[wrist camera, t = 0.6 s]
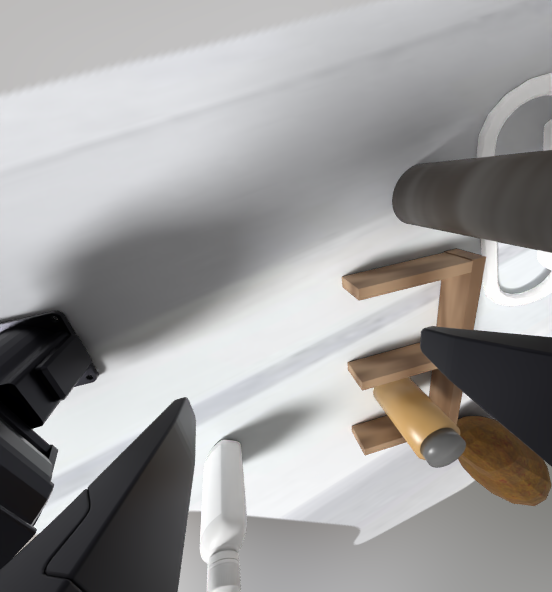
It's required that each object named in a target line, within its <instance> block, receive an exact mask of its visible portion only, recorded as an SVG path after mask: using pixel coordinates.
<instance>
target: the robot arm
mask: <svg viewBox="0 0 552 592" xmlns="http://www.w3.org/2000/svg"><path fill="white" fill-rule="evenodd" d="M53 316H55V317H57V318H58V320H56V319H54V317H53ZM420 348H421V351H422V353H423V354H424V355H425V356H426V357H427V358H428V359H429V360H430V361H431V362H432V363H433V364H434V365H435V366H436V367H437V368H438V369H439V370H440V371H441V372H442V373H443V374H444V375H445V376H446V377H447V378H448V379H449V380H450V381H451V382H452V383H453V384H454V385H456V386H457V387H458V388H459V389H460V390H461V391H463V392H464V393H465V394H466V395H467V396H469V397H470V398H471V399H472V400H473V401H475V402H476V403H477V404H478V405H479V406H480V407H482V408H483V409H484V410H485V411H486V412H488V413H489V414H490V415H491V416H492V417H493V418H495V419H496V420H497V421H498V422H499V423H501V424H502V425H503V426H504V427H505V428H506V429H508V430H509V431H510V432H511V433H512V434H514V435H515V436H516V437H517V438H518V439H520V440H521V441H522V442H523V443H524V444H525V445H527V446H528V447H529V448H530V449H531V450H533V451H534V452H535V453H536V454H537V455H538V456H540V457H541V458H542V459H543V460H545V461H546V462H547V463H548V464H549V465H551V466H552V337H542V336H531V335H521V334H510V333H499V332H489V331H478V330H467V329H457V328H446V327H436V326H431V327H427V328H424V329H422V331H421V340H420ZM89 375H91V376H93V377H90V376H89ZM98 375H99V374H98V372H97V370H96V368H95V367H94V365H93V363H92V360H91V358H90V356H89V354H88V353H87V351H86V349H85V347H84V346H83V344H82V342H81V341H80V339H79V337H78V336H77V335H76V334H75V332H74V331H73V329H72V327H71V325H70V324H69V322H68V320H67V318H66V317H65V315H64V314H63V313H62V312H60V311H51V312H47V313H42V314H38V315H33V316H29V317H24V318H20V319H15V320H11V321H7V322H2V323H0V592H177V591H178V585H179V577H180V569H181V562H182V555H183V547H184V540H185V532H186V526H187V518H188V511H189V503H190V496H191V489H192V481H193V474H194V466H195V438H196V419H195V414H194V412H193V409H192V407H191V405H190V402H189V400H188V398H186V397H184V398H180V399H177V400H175V401H173V402H172V403H171V404H170V405H169V406H168V407H167V408H166V409H165V410H164V411H163V412H162V413H161V414H160V415H159V416H158V417H157V418H156V419H155V420H154V421H153V422H152V423H151V424H150V425H149V426H148V427H147V428H146V429H145V430H144V431H143V432H142V433H141V434H140V435H139V436H138V437H137V438H136V439H135V440H134V441H133V442H132V443H131V444H130V445H129V446H128V447H127V448H126V449H125V450H124V451H123V452H122V453H121V454H120V455H119V456H118V457H117V458H116V459H115V460H114V461H113V462H112V463H111V464H110V465H109V466H108V467H107V468H106V469H105V470H104V471H103V472H102V473H101V474H100V475H99V476H98V477H97V478H96V479H95V480H94V481H93V482H92V483H91V484H90V485H89V487H88V489H85V490H84V491H83V492H82V493H81V494H80V495H79V496H78V497H77V498H76V499H75V500H74V501H73V502H72V503H71V504H70V505H69V506H68V507H67V508H66V509H65V510H64V511H63V512H62V513H61V514H59V515H58V516H57V517H56V518H55V519H54V520H53V521H52V522H51V523H50V524H49V525H48V526H47V527H46V528H45V529H44V530H43V531H42V532H41V533H39V534H38V535H37V536H36V537H35V538H34V539H33V540H32V541H31V542H30V543H29V544H28V545H27V546H25V547H24V545H25V544H26V543H27V542H28V541H29V540H30V539H31V538H32V537H33V536H34V535H35V533H36V531H37V529H36V528H34V527H33V526H34V525H35V523H36V521H37V520H38V518H39V516H40V514H41V512H42V510H43V508H44V507H45V505H46V503H47V501H48V499H49V497H50V495H51V493H52V491H53V488H54V484H53V483H52V482H51V478H52V472H53V468H54V464H55V461H56V457H57V453H58V449H57V448H56V447H54V446H53V445H49V444H48V443H47V442H46V441H45V440H43V439H42V438H41V437H40V436H39V435H38V434H37V433H36V432H34V431H33V428H36V427H40V426H42V425H43V424H44V423H45V421H46V420H47V419H48V417H49V416H50V415H51V413H52V412H53V411H54V409H55V408H56V407H57V405H58V404H59V402H60V401H61V400H64V399H65V398H66V397H67V396H68V394H69V393H70V392H71V390H72V389H73V387H76V386H80V385H84V384H88V383H92V382H94V381H95V380H96V379H97V378H98ZM22 547H24V548H23V549H22ZM21 549H22V550H21ZM20 550H21V551H20ZM19 551H20V552H19ZM18 552H19V553H18ZM17 553H18V554H17ZM16 554H17V555H16ZM15 555H16V556H15ZM14 556H15V557H14Z"/></svg>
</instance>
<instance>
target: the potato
mask: <svg viewBox="0 0 552 592" xmlns="http://www.w3.org/2000/svg"><path fill="white" fill-rule="evenodd" d="M457 427H458V428H459V429H460V436H461V437H462V438H463V439H464V440H465V442H466V448H465V450H464V452H463V453H462V455H461V456H460V457H459V458H458V460H459V461H460V463H461V465H462V467H463V468H464V469H465V470H466V471H467V472H468V473H469V474H470V475H471V477H472V478H474V479H475V480H476V481H477V482H479V483H480V484H481V485H482V486H484V487H485V488H486V489H487V490H489V491H490V492H491V493H493V494H495V495H497V496H499V497H501V498H503V499H505V500H507V501H509V502H511V503H514V504H523V505H531V506H535V505H537V504H539V503H541V502H542V501H544V500H546V498H547V496H548V493H549V491H550V488H551V482H550V477H549V472H548V468H547V466H546V464H545V462H544V460H543V459H542V458H541V457H540V456H538V455H537V454H536V453H535V452H534V451H533V450H531V449H530V448H529V447H528V446H527V445H525V444H524V443H523V442H522V441H521V440H520V439H518V438H517V437H516V436H515V435H514V434H512V433H511V432H510V431H509V430H508V429H506V428H505V427H504V426H503V425H502V424H501V423H499V422H498V421H496V420H494V419H490V418H486V417H482V416H466V417H462V418H460V419H458V420H457Z"/></svg>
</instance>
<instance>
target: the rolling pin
mask: <svg viewBox="0 0 552 592" xmlns="http://www.w3.org/2000/svg"><path fill="white" fill-rule="evenodd" d="M544 95H548V96H552V73H549V74H545V75H542V76H538V77H535V78H532V79H529V80H528V81H526V82H524V83H523V84H521V85H520V86H518V87H517V88H515V89H514V90H512V91H511V92H509V93H507V94H506V95H505V96H504V97H503V98H502V99H501V100H500V102H499V103H498V104H497V105H496V106H495V107H494V108H493V110H492V111H491V112H490V113H489V114H488V116H487V118H486V120H485V123H484V125H483V127H482V130H481V132H480V134H479V137H478V145H477V155H476V158H481V157H490V156H495V148H496V142H497V137H498V134H499V132H500V130H501V128H502V127H503V125H504V123H505V121H506V120H507V119H508V118H509V116H510V115H511V114H512V113H513V112H514V111H515V110H516V109H517V108H518V107H520V106H521V105H523V104H524V103H526V102H528V101H529V100H531V99H534V98H537V97H541V96H544ZM546 150H552V119H551V120H549V121H548V122H547V123H546V124H545V125H544V135H543V151H546ZM481 255H482V256H486V261H485V267H484V273H483V287H484V291H485V294H486V296H487V297H488V298H489V299H491V300H492V301H493V302H494V303H496V304H500V305H505V306H509V307H511V306H519V305H526V304H529V303H532V302H534V301H537V300H539V299H542V298H544V297H545V296H547V295H548V294H550V293H551V292H552V253H550V252H545V251H540V250H538V252H537V259H538V261H539V262H540V263H541V264H542V265H543V266H544V267H546V268H547V269H549V270H551V273H550V274H549V275H548V276H547V277H546V279H545V280H544V281H543V282H542V283H540V284H539V285H537V286H536V287H534V288H533V289H530V290H528V291H525V292H523V293H516V294H508V293H504V292H503V291H502V290H501V289H500V287H499V283H498V262H497V242H495V241H490V240H485V239H481Z"/></svg>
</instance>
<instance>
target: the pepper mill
mask: <svg viewBox="0 0 552 592" xmlns="http://www.w3.org/2000/svg"><path fill="white" fill-rule="evenodd" d="M392 204H393V209H394V212H395V214H396V216H397V217H398V218H399V219H400V220H401V221H402V222H404V223H407V224H412V225H416V226H421V227H426V228H431V229H436V230H441V231H446V232H451V233H456V234H461V235H466V236H471V237H476V238H481V239H485V240H490V241H495V242H500V243H505V244H510V245H515V246H520V247H525V248H530V249H535V250H540V251H545V252H550V253H552V150H546V151H537V152H527V153H518V154H509V155H499V156H490V157H481V158H472V159H462V160H453V161H444V162H434V163H425V164H418V165H415V166H413V167H411V168H410V169H408V170H407V171H406V172H405V173H404V174H403V175H402V176H401V177H400V179H399V180H398V182H397V184H396V186H395V189H394V192H393V198H392Z"/></svg>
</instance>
